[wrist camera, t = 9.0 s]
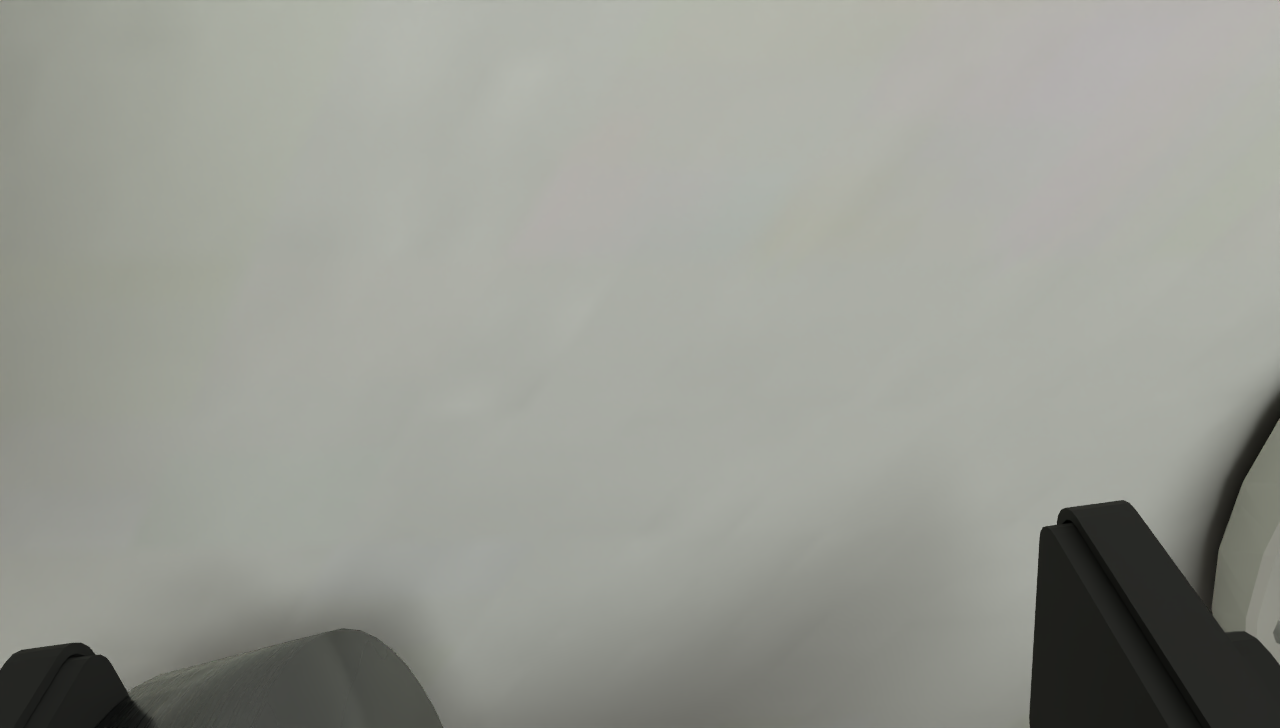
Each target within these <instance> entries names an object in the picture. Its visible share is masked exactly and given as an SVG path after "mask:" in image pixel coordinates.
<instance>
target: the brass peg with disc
mask: <svg viewBox="0 0 1280 728" xmlns="http://www.w3.org/2000/svg"><path fill="white" fill-rule="evenodd" d="M128 694H129V695H128V696H127V697H125V698H124V699H123V700H122V701H120V702H119V703H118V704H116V705H115V706H114V707H113V708H112V709H111V710H110V711H109V712H108V713H107V714H106V716H105V717H104V718H103V719H102V720H101V721H100V722H99V723H98V724H97V725H96V726H95V727H94V728H443V726H442V724H441V722H440V720H439V717H438V715H437V713H436V711H435V709H434V707H433V705H432V704H431V702H430V700H429V698H428V697H427V695H426V693H425V691H424V690H423V688H422V686H421V685H420V683H419V682H418V680H417V679H416V678H415V676H414V675H413V673H412V672H411V671H410V669H409V668H408V667H407V665H406V664H405V663H404V662H403V661H402V660H401V659H400V658H399V657H398V656H397V654H396V653H395V652H394V651H393V650H392V649H391V648H389V647H388V646H387V645H385V644H384V643H383V642H381V641H380V640H379V639H377V638H376V637H374V636H371V635H369V634H367V633H365V632H362V631H360V630H351V629H339V630H334V631H330V632H325V633H321V634H318V635H314V636H310V637H306V638H302V639H298V640H294V641H290V642H286V643H282V644H278V645H274V646H271V647H267V648H263V649H259V650H255V651H251V652H247V653H243V654H239V655H235V656H231V657H227V658H224V659H220V660H216V661H212V662H208V663H204V664H200V665H196V666H192V667H188V668H184V669H180V670H177V671H173V672H169V673H165V674H161V675H159V676H157V677H155V678H153V679H151V680H149V681H147V682H145V683H143V684H140V685H138V686H136V687H135V688H134V689H132V690H131V691H130V692H128Z"/></svg>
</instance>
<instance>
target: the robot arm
mask: <svg viewBox="0 0 1280 728" xmlns="http://www.w3.org/2000/svg"><path fill="white" fill-rule="evenodd" d="M1212 614H1213V615H1212ZM1212 614H1211V613H1210V611H1209V610H1208V609H1207V607H1206V606H1205V604H1204V603H1203V602H1202V600H1201V599H1200V598H1199V596H1198V595H1197V593H1196V592H1195V591H1194V589H1193V588H1192V587H1191V585H1190V584H1189V582H1188V581H1187V580H1186V578H1185V577H1184V576H1183V574H1182V573H1181V571H1180V570H1179V569H1178V567H1177V566H1176V565H1175V563H1174V562H1173V560H1172V559H1171V558H1170V556H1169V555H1168V554H1167V552H1166V551H1165V549H1164V548H1163V547H1162V545H1161V544H1160V543H1159V541H1158V540H1157V538H1156V537H1155V536H1154V534H1153V533H1152V532H1151V530H1150V529H1149V527H1148V526H1147V525H1146V523H1145V522H1144V521H1143V519H1142V518H1141V516H1140V515H1139V514H1138V512H1137V511H1136V510H1135V509H1134V507H1133V506H1132V505H1131V504H1130V503H1128V502H1126V501H1124V500H1121V501H1113V502H1106V503H1099V504H1091V505H1084V506H1077V507H1069V508H1064V509H1062V510H1061V511H1060V513H1059V515H1058V520H1057V525H1053V526H1046V527H1043V528H1042V530H1041V533H1040V541H1039V558H1038V576H1037V593H1036V610H1035V628H1034V645H1033V663H1032V680H1031V698H1030V715H1029V719H1030V728H1280V419H1279V420H1278V422H1277V424H1276V426H1275V427H1274V429H1273V431H1272V433H1271V434H1270V436H1269V438H1268V439H1267V441H1266V443H1265V445H1264V446H1263V448H1262V450H1261V452H1260V453H1259V455H1258V457H1257V459H1256V460H1255V462H1254V464H1253V466H1252V467H1251V469H1250V471H1249V472H1248V474H1247V476H1246V478H1245V479H1244V481H1243V483H1242V486H1241V489H1240V492H1239V494H1238V497H1237V500H1236V503H1235V506H1234V508H1233V511H1232V514H1231V517H1230V520H1229V522H1228V525H1227V528H1226V531H1225V534H1224V536H1223V539H1222V542H1221V545H1220V548H1219V552H1218V561H1217V569H1216V577H1215V586H1214V594H1213V602H1212ZM128 695H129V694H128V692H127V691H126V689H125V687H124V685H123V684H122V682H121V680H120V678H119V677H118V675H117V673H116V671H115V670H114V668H113V666H112V664H111V663H110V662H109V660H108V659H107V658H106V657H104V656H102V655H95V654H94V652H93V651H92V650H91V649H90V647H88V646H87V645H85V644H83V643H69V644H61V645H54V646H47V647H40V648H32V649H25V650H21V651H19V652H17V653H15V654H13V655H12V656H11V657H10V658H9V659H8V660H7V661H6V663H5V664H4V665H3V667H2V668H1V670H0V728H94V727H95V726H96V725H97V724H98V723H99V722H100V721H101V720H102V719H103V718H104V717H105V716H106V714H107V713H108V712H109V711H110V710H111V709H112V708H113V707H114V706H115V705H116V704H118V703H119V702H120V701H122V700H123V699H124V698H125V697H127V696H128Z"/></svg>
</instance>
